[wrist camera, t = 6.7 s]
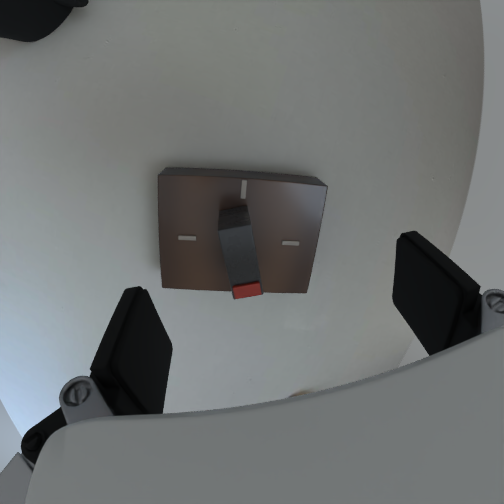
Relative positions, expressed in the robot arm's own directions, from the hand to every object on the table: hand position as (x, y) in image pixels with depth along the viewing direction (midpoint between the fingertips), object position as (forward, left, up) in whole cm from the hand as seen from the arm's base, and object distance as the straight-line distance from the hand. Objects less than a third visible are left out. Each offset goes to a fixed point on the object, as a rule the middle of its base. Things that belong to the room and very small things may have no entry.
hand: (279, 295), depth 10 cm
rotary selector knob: (+1, +4, -13) cm, 14 cm away
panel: (+1, +4, -16) cm, 16 cm away
